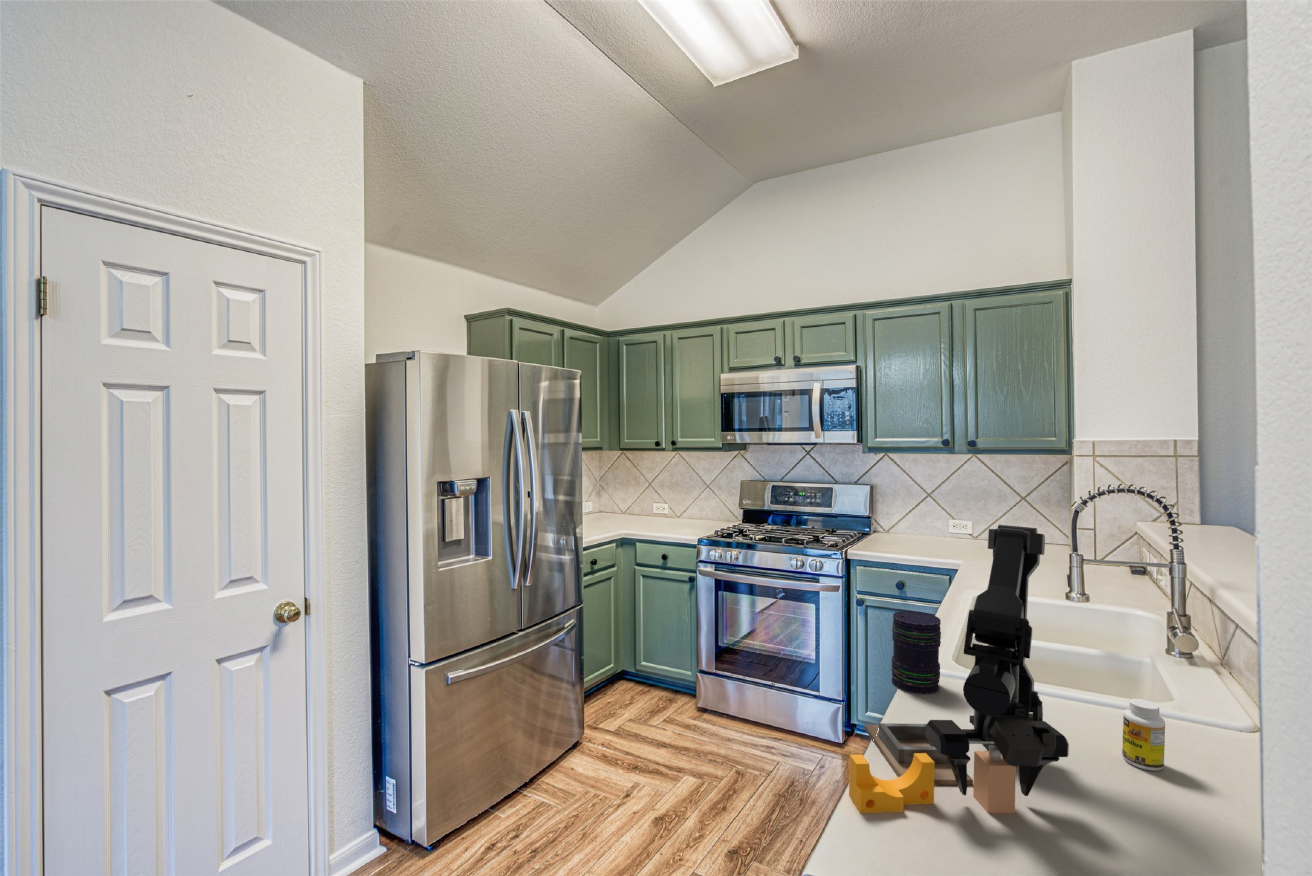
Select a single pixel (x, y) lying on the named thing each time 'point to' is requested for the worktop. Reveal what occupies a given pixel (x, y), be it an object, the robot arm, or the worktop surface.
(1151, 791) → the worktop surface
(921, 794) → the pipe clamp
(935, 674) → the storage jar
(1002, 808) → the connector
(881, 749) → the end holder
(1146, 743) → the supplement bottle
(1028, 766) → the robot arm
